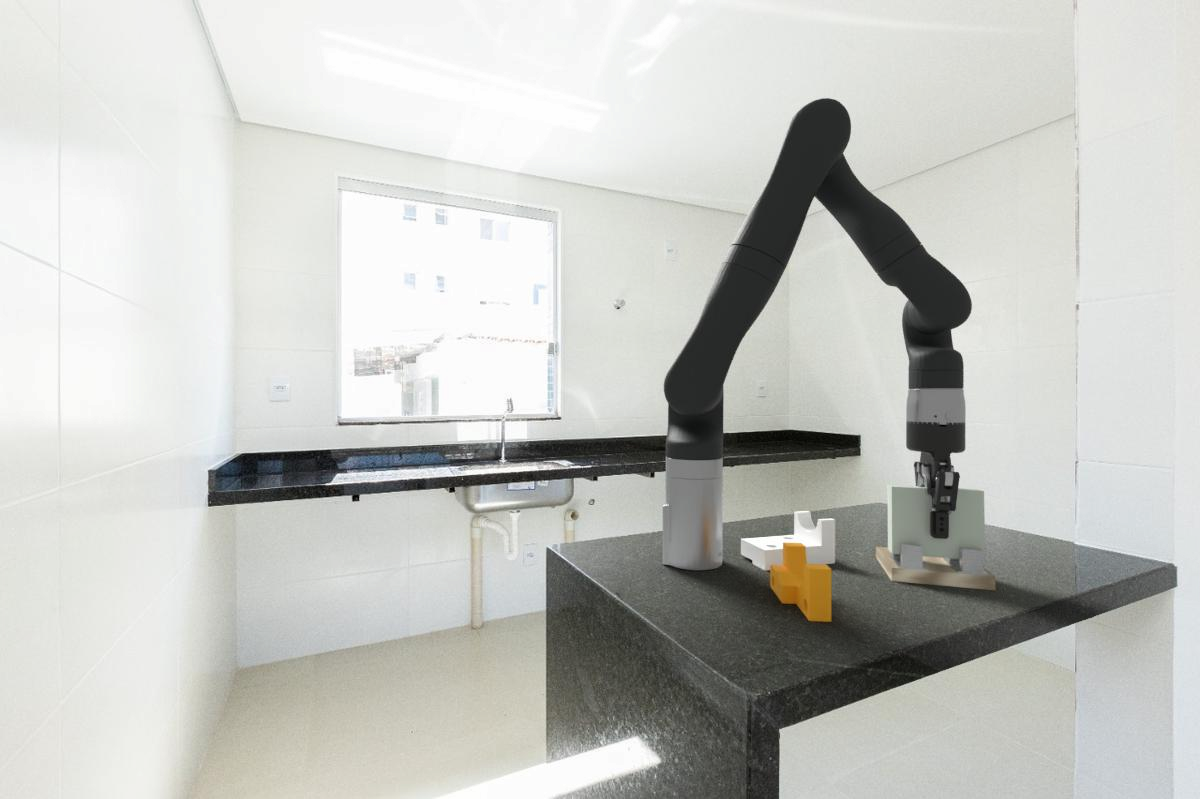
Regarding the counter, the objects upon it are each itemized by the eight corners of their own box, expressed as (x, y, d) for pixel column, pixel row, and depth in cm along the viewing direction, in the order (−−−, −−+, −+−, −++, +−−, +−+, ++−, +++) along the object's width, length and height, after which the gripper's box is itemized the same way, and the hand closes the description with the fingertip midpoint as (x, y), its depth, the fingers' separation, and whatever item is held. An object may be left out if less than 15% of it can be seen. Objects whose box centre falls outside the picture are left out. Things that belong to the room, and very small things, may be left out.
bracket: (806, 554, 94) (807, 510, 94) (835, 566, 88) (835, 519, 88) (740, 559, 91) (741, 514, 91) (764, 572, 84) (765, 524, 84)
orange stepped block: (770, 587, 77) (770, 542, 77) (801, 588, 77) (801, 542, 77) (794, 621, 65) (794, 568, 65) (831, 622, 65) (831, 569, 65)
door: (893, 555, 80) (893, 487, 81) (887, 549, 84) (887, 484, 84) (988, 562, 76) (986, 491, 77) (977, 556, 80) (976, 489, 81)
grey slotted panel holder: (898, 568, 79) (898, 544, 79) (888, 555, 85) (888, 533, 85) (987, 575, 76) (987, 550, 76) (970, 562, 82) (970, 539, 82)
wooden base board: (891, 581, 79) (891, 567, 79) (875, 558, 91) (875, 546, 91) (995, 590, 75) (995, 576, 75) (965, 565, 87) (965, 553, 87)
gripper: (896, 417, 88) (895, 522, 88) (919, 420, 75) (919, 544, 75) (948, 418, 86) (948, 525, 86) (982, 421, 73) (982, 548, 73)
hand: (934, 533), depth 81 cm, fingers closed on door, 4 cm apart
